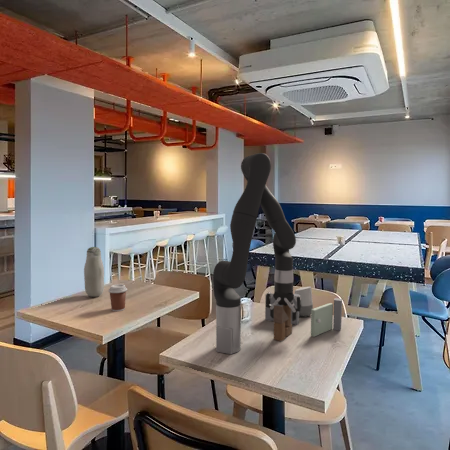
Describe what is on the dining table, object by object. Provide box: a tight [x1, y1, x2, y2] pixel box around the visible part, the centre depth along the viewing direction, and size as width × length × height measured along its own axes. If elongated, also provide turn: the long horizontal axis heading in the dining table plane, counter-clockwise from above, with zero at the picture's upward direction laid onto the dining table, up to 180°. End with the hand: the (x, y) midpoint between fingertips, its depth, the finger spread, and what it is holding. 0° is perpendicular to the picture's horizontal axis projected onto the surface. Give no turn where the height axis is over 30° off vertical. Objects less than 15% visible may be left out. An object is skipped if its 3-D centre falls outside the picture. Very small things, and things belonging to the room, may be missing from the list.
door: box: [310, 302, 334, 338], centre depth 161 cm, size 3×14×11 cm, turn 132°
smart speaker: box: [294, 285, 314, 318], centre depth 184 cm, size 10×9×14 cm
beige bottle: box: [83, 246, 105, 298], centre depth 215 cm, size 10×10×28 cm
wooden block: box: [273, 305, 293, 342], centre depth 157 cm, size 4×11×18 cm, turn 147°
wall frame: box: [264, 293, 343, 331], centre depth 171 cm, size 3×33×13 cm, turn 67°
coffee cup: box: [107, 283, 128, 312], centre depth 193 cm, size 9×9×12 cm
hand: (283, 319), depth 157 cm, fingers open, 8 cm apart
